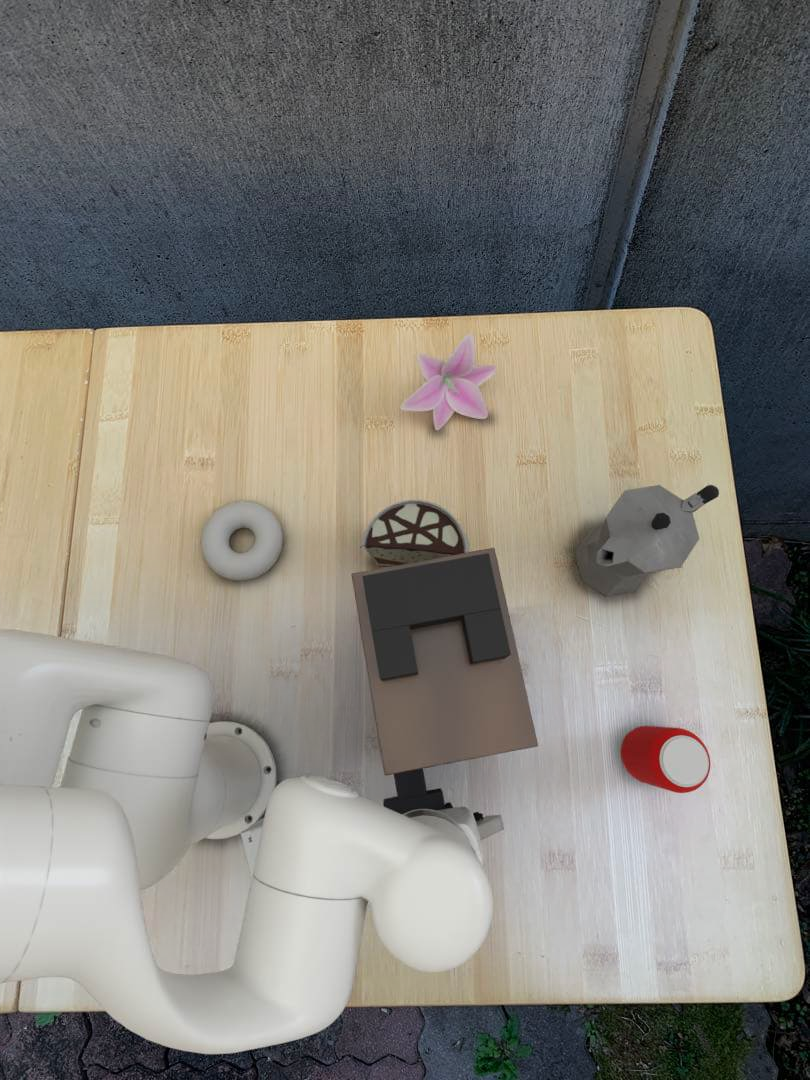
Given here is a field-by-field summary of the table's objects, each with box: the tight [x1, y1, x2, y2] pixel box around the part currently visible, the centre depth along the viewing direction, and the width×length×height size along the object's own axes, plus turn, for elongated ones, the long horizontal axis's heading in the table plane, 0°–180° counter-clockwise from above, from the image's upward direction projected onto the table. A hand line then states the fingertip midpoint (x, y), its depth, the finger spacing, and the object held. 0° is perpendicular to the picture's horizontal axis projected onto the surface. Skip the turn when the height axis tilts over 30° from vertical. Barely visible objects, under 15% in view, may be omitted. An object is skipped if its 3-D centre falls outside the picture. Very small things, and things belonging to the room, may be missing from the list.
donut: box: [200, 500, 284, 581], centre depth 83 cm, size 10×4×10 cm
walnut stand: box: [351, 547, 539, 776], centre depth 67 cm, size 12×16×27 cm
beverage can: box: [620, 725, 711, 794], centre depth 72 cm, size 6×6×12 cm
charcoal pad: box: [382, 768, 446, 814], centre depth 69 cm, size 6×9×3 cm, turn 10°
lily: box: [399, 332, 499, 431], centre depth 85 cm, size 12×12×10 cm
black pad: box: [363, 553, 511, 681], centre depth 53 cm, size 10×8×3 cm
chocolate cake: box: [359, 499, 471, 567], centre depth 79 cm, size 12×6×10 cm, turn 84°
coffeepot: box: [574, 484, 720, 598], centre depth 75 cm, size 15×9×18 cm, turn 121°
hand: (417, 825), depth 69 cm, fingers closed on charcoal pad, 6 cm apart
